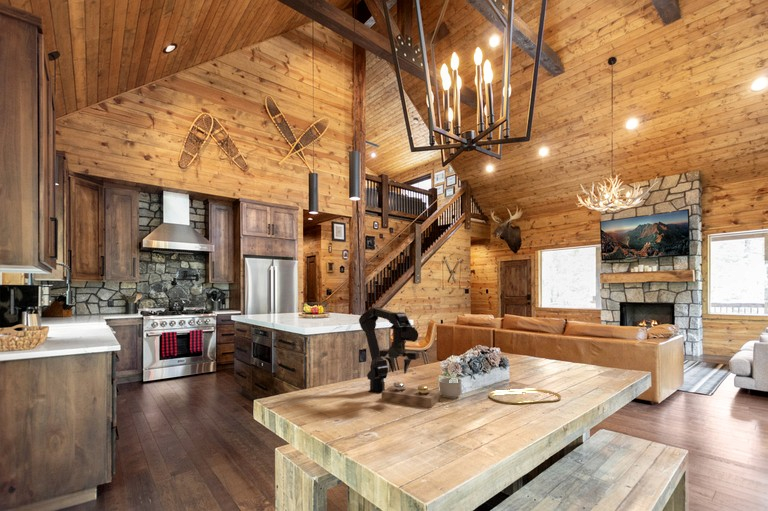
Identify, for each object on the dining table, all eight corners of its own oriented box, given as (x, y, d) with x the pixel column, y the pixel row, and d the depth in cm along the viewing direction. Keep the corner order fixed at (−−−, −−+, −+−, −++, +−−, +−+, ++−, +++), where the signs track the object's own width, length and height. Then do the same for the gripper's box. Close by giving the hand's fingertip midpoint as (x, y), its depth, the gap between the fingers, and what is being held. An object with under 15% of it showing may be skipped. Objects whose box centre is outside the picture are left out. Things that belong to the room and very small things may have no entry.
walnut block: (381, 400, 177) (381, 391, 178) (392, 394, 188) (392, 385, 188) (431, 407, 167) (431, 398, 167) (439, 400, 178) (439, 391, 178)
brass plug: (416, 394, 174) (416, 387, 174) (419, 392, 178) (419, 384, 179) (426, 396, 172) (426, 388, 172) (429, 393, 176) (429, 386, 177)
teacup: (463, 400, 179) (463, 382, 179) (440, 399, 179) (440, 382, 180) (458, 391, 193) (458, 375, 193) (436, 391, 193) (436, 375, 194)
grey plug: (392, 391, 179) (392, 384, 180) (396, 389, 184) (396, 381, 184) (401, 392, 177) (401, 385, 177) (405, 390, 182) (405, 383, 182)
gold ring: (481, 395, 189) (481, 391, 189) (544, 391, 196) (544, 388, 196) (501, 406, 170) (501, 403, 170) (570, 402, 178) (570, 398, 178)
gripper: (373, 340, 179) (373, 374, 178) (411, 342, 171) (411, 378, 170) (384, 337, 189) (383, 369, 188) (419, 339, 181) (419, 373, 180)
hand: (398, 372), depth 181 cm, fingers open, 6 cm apart
